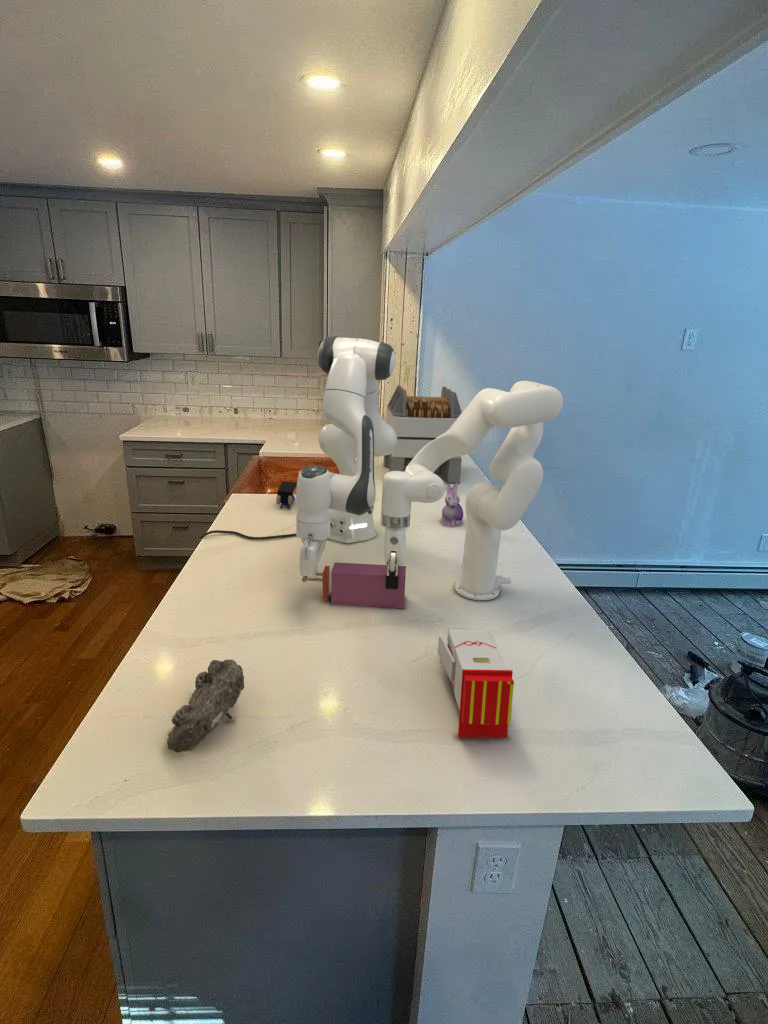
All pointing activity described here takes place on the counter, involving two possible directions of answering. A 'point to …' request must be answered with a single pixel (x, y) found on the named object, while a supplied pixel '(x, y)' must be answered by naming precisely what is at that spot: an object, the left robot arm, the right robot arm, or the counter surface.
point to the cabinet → (365, 585)
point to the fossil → (206, 705)
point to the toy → (478, 682)
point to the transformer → (421, 428)
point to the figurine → (452, 507)
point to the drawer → (324, 579)
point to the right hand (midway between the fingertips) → (392, 581)
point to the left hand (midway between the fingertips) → (313, 577)
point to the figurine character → (286, 494)
